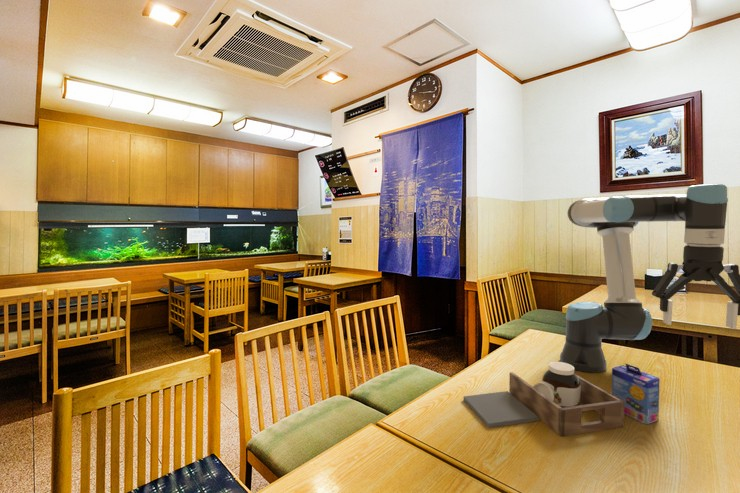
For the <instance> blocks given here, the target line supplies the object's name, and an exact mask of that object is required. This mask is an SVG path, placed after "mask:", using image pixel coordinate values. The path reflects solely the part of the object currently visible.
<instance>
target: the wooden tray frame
mask: <svg viewBox="0 0 740 493" xmlns="http://www.w3.org/2000/svg"><path fill="white" fill-rule="evenodd" d="M574 374H575V375H576V376H577V377H578V378H579V380H580V385H581V394H580V401H579V403H581V404H580V405H579V404H578V405H577V406H572V407H565V408H562V407H560V406H559V405H557V404H556V403H555V402H553V401H552V400H550V399H549V398H548V397H546V396H545V395H544V394H542V393H541V392H539V391H538V390H537V389H535V388H534V387H533V385H531V384H530V383H528V382H527V381H526V380H524V379H523V378H521V377H520V376H518V375H517V374H516V373H514V372H513V371H510V372H509V382H508V383H509V385H508V386H509V390H508V392H509V393H510V394H512V395H513V396H514V397H515V398H516V399H518V400H519V401H520V402H521V403H522V404H524V405H525V406H526V407H527V408H528V409H530V410H531V411H532V412H533V413H535V414H536V415H537V416H538V420H540V421H542V423H544V424H545V425H546V426H547V427H548V428H550V429H551V430H552V431H554V432H555V433H556V434H557V435H559V437H567V436H573V435H579V434H585V433H593V432H599V431H606V430H611V429H618V428H624V426H625V425H624V423H625V414H624V401H622V400H621V399H619V398H617V397H615V396H613V395H612V393H611V392H610V393H609V391H606V390H605V389H602V388H601V387H599V386H597V385H595V384H594V383H592V382H590V381H589V380H586V379H585V378H583V377H581V376H579V375H578V374H576V373H574ZM586 411H594V412H596V413H597V414H599V415H600V416H601V419H600V420H597V421H596V420H595V421H590V422H589V421H587V422H583V423H582V417H583V415H582V413H583V412H586Z"/></svg>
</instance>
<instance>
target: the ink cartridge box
mask: <svg viewBox="0 0 740 493" xmlns="http://www.w3.org/2000/svg"><path fill="white" fill-rule="evenodd" d="M611 394H612V395H613V396H615V397H617V398H619V399H621V400H622V401H624V415H626V416H629V417H630V418H632V419H634V420H636V421H639V422H640V423H641V424H644V425H649V424H652V423H655V422H658V421H659V412H660V403H659V402H660V378H659V377H658V376H655V375H652V374H650V373H647V372H644V371H641V370H640V368H639V367H638V366H633V365H631V364H628V363H625V365H624V364H623V365H619V366H615V367H614V366H613V368H611Z"/></svg>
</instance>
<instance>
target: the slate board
mask: <svg viewBox="0 0 740 493" xmlns="http://www.w3.org/2000/svg"><path fill="white" fill-rule="evenodd" d="M463 401H464V402H465V403H466V405H467V406H468V407H469V409H471V410H472V411H473V413H475V415H477V416H478V418H479V419H480V420H481V421H482V422H483V423H484V425H485V426H486V427H487V428H488V429H489V428H498V427H505V426H509V425H510V426H511V425H519V424H526V423H532V422H538V421H539V418H538V416H537V415H536V414H535V413H533V412H532V411H531V410H530V409H528V408H527V407H526V406H525V405H524V404H522V403H521V402H520V401H519V400H518V399H516V398H515V397H514V396H513V395H512V394H510V393H509V390H508V391H507V390H506V391H498V392H488V393H480V394H473V395H472V394H471V395H464V396H463Z"/></svg>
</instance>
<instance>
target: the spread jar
mask: <svg viewBox="0 0 740 493" xmlns="http://www.w3.org/2000/svg"><path fill="white" fill-rule="evenodd" d="M575 374H576V373H575V370H574V367H573V366H572V365H570V364H568V363H564V362H560V361H551V362H549V363H548V369H547V370H546V371H545V372H544V373H543V374H542V375H543V376H542V379H541V382H537V383H536V384H533V385H532V387H534V388H535V389H537V390H538V391H539V392H541V393H542V394H544V395H545V396H546V397H548V398H549V399H550V400H552V401H553V402H555V403H556V404H557V405H559V406H560V407H562V408H565V407H572V406H579V403H580V394H581V385H580V380H579V378H578V377H577V376H576V375H577V374H576V375H575Z"/></svg>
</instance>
